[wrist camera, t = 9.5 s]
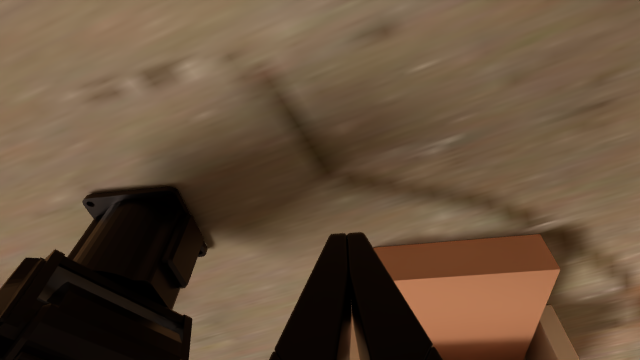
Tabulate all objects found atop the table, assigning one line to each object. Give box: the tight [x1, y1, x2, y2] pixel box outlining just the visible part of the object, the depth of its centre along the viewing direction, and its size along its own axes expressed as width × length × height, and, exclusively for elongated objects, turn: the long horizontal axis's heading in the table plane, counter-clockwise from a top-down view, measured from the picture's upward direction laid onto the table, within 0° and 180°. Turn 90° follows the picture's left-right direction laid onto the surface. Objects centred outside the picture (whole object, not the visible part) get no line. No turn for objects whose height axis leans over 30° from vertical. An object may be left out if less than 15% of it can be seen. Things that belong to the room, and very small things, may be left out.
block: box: [373, 234, 560, 360], centre depth 31 cm, size 12×18×4 cm, turn 9°
